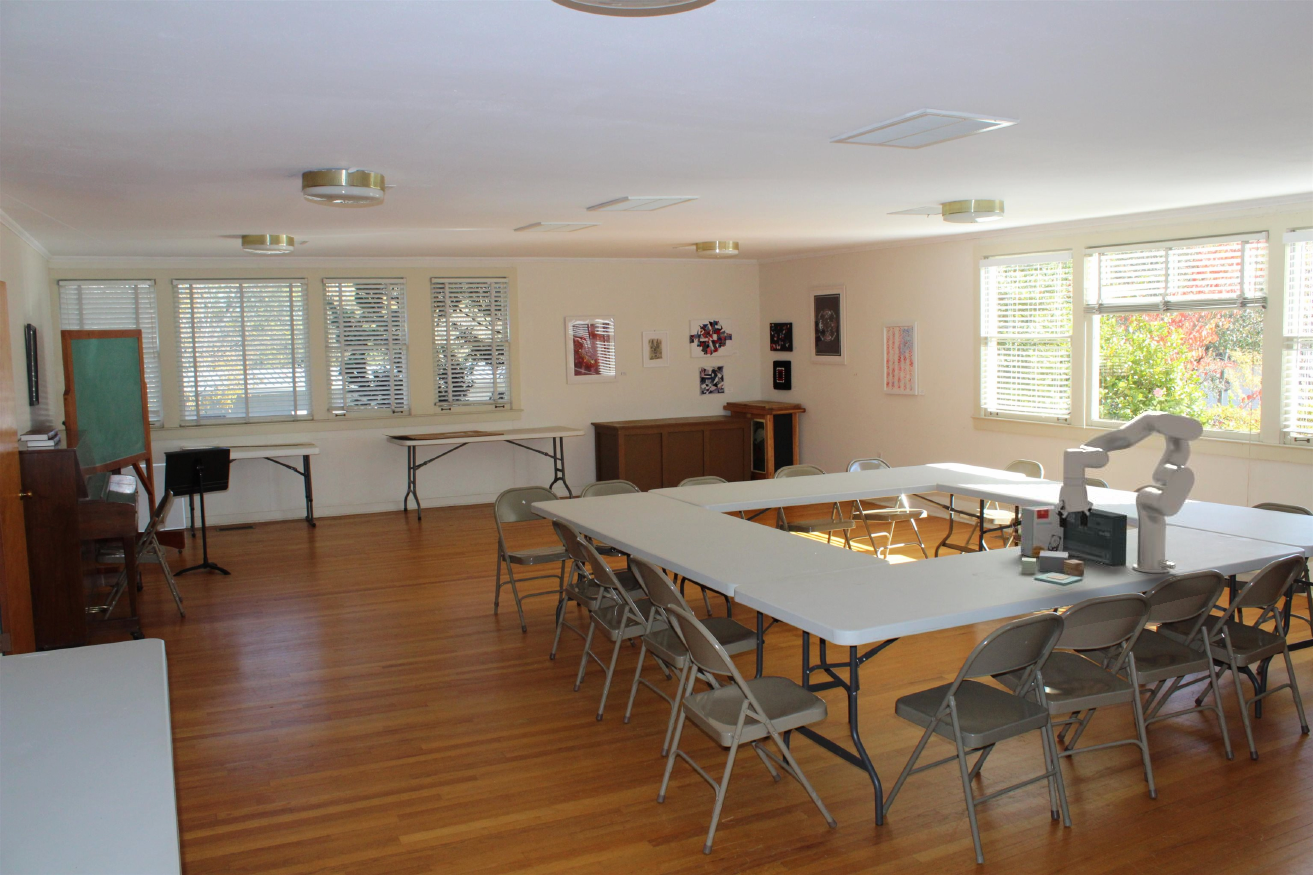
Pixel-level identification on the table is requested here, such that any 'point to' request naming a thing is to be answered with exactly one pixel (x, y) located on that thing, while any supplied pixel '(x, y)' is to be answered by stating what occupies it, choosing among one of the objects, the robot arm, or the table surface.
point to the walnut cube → (1073, 567)
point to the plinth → (1052, 561)
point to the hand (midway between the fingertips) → (1073, 526)
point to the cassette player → (1097, 537)
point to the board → (1058, 578)
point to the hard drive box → (1040, 531)
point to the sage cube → (1029, 565)
